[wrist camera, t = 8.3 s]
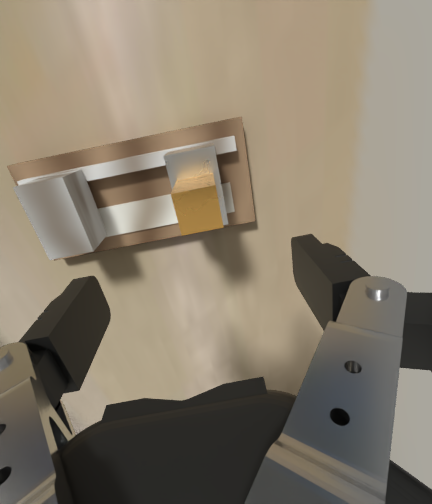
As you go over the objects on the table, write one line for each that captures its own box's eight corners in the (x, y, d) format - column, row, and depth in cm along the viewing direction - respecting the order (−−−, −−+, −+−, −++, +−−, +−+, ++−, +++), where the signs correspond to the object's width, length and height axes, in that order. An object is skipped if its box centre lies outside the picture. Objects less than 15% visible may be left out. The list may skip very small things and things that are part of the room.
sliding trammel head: (185, 217, 28) (179, 255, 20) (169, 150, 25) (154, 164, 17) (224, 210, 28) (234, 245, 20) (212, 141, 25) (217, 151, 17)
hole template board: (60, 254, 31) (27, 285, 25) (16, 163, 27) (-35, 175, 21) (253, 216, 31) (265, 239, 25) (239, 116, 26) (250, 116, 20)
